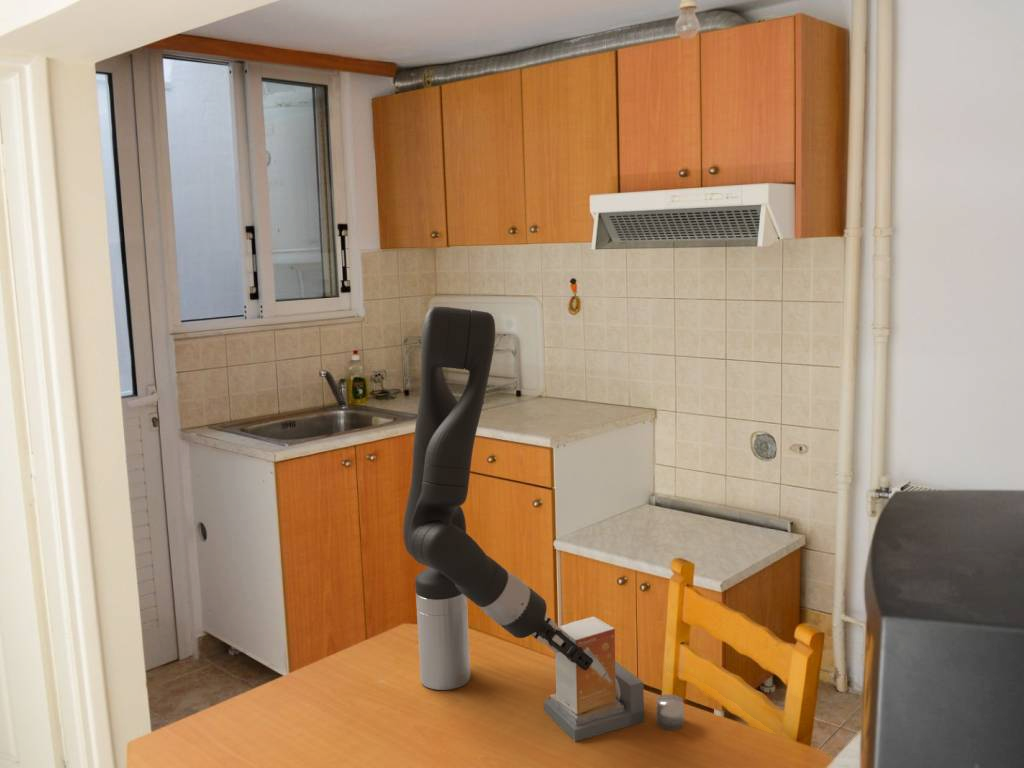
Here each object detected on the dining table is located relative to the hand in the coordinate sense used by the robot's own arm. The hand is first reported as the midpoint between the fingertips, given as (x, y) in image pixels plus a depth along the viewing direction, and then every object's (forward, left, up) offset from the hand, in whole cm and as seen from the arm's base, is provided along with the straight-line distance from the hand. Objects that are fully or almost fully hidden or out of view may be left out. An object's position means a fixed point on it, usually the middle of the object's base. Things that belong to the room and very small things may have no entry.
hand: (575, 655), depth 155 cm
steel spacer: (+8, +13, -12) cm, 19 cm away
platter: (0, +2, -10) cm, 10 cm away
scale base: (0, +3, -12) cm, 12 cm away
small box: (0, +1, -9) cm, 9 cm away
